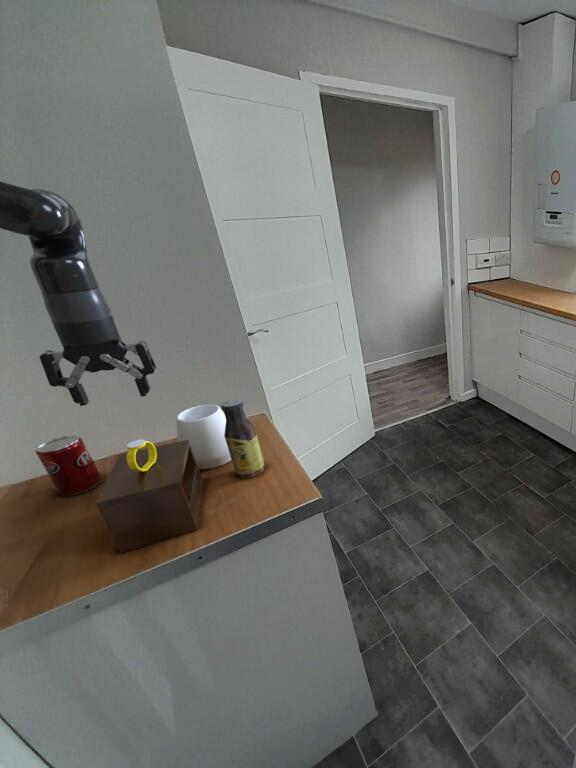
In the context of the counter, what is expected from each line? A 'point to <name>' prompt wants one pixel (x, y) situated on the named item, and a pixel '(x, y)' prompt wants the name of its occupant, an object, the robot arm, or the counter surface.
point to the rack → (152, 497)
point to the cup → (204, 435)
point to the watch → (132, 455)
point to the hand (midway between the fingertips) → (115, 399)
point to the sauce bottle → (242, 440)
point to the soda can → (69, 465)
